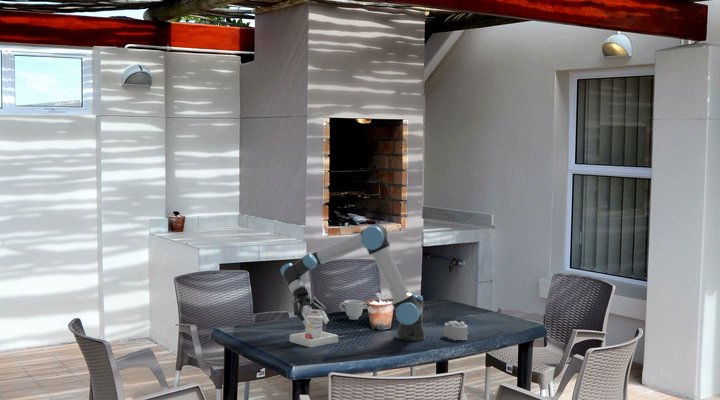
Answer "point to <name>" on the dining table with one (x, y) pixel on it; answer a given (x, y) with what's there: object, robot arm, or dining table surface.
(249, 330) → the dining table surface
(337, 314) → the dining table surface
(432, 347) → the dining table surface
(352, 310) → the teacup
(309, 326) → the ink cartridge box
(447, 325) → the lumpy-topped squat cylinder
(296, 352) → the dining table surface
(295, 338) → the tray
